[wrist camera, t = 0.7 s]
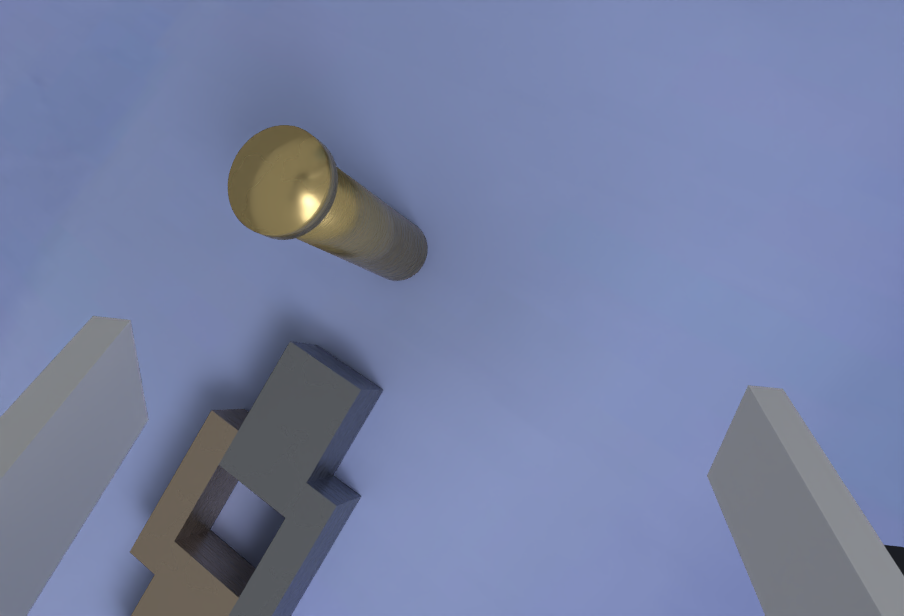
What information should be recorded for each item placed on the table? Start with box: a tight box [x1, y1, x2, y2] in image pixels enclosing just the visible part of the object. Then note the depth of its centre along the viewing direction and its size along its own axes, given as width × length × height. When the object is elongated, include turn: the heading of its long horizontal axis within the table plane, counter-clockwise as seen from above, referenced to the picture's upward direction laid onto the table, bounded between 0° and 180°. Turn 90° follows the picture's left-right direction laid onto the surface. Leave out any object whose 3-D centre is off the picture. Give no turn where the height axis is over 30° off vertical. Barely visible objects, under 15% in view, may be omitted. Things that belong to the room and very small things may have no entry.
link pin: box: [228, 125, 427, 281], centre depth 30 cm, size 4×4×13 cm
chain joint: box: [130, 342, 383, 616], centre depth 35 cm, size 20×9×3 cm, turn 149°
